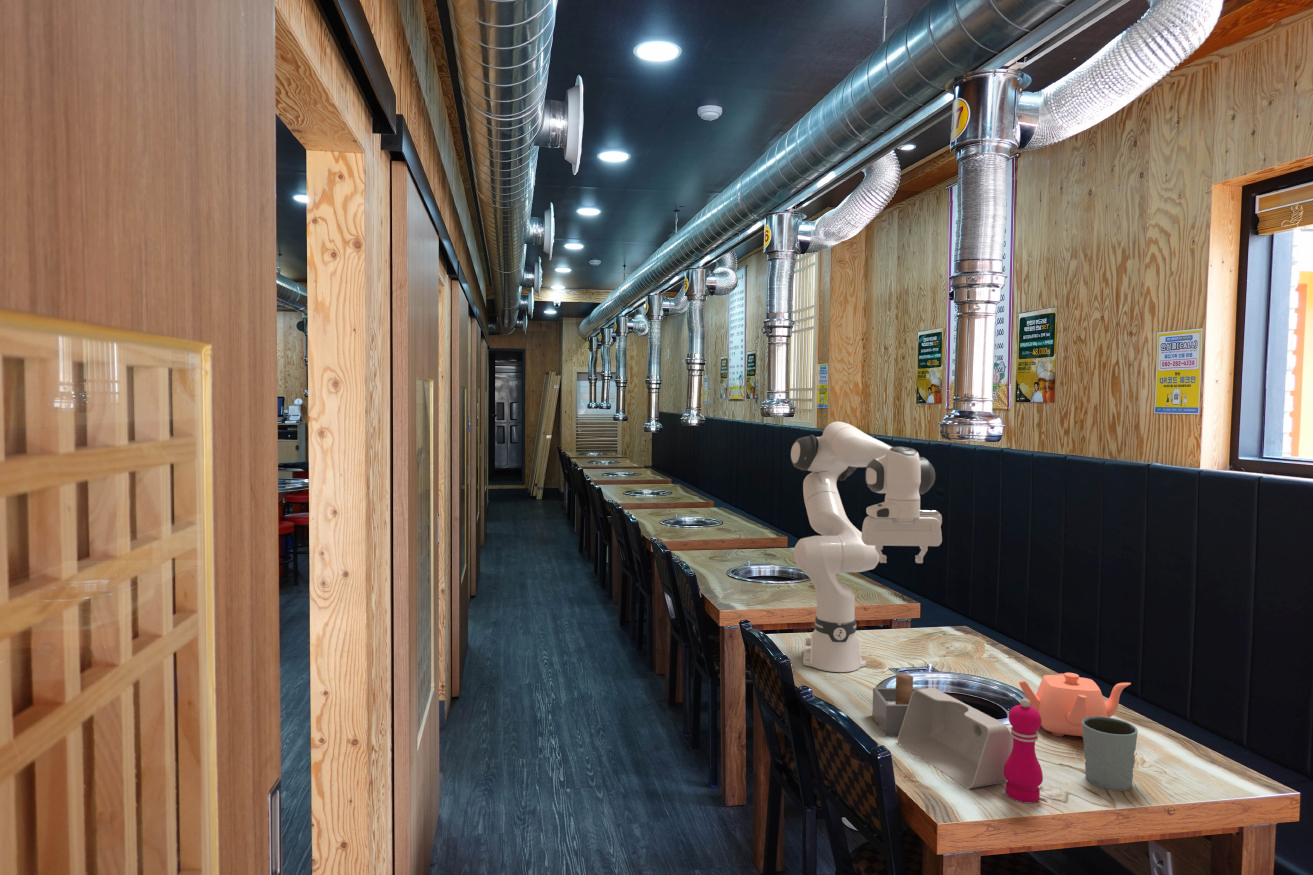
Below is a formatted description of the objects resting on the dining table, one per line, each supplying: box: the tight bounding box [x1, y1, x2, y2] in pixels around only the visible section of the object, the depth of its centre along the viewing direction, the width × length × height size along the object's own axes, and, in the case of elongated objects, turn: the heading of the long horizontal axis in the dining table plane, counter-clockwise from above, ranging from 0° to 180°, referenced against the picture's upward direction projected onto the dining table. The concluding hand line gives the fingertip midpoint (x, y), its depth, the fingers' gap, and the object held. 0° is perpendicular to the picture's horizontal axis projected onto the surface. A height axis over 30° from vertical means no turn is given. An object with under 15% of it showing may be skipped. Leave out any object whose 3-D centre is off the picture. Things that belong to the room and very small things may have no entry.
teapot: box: [1018, 672, 1132, 739], centre depth 198 cm, size 18×18×14 cm
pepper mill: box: [1003, 697, 1044, 803], centre depth 165 cm, size 7×7×20 cm
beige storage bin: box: [897, 687, 1013, 790], centre depth 182 cm, size 25×16×12 cm, turn 20°
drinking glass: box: [1082, 716, 1138, 792], centre depth 172 cm, size 10×10×12 cm
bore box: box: [871, 687, 922, 736], centre depth 201 cm, size 12×12×7 cm
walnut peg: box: [895, 673, 914, 705], centre depth 201 cm, size 4×4×12 cm
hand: (900, 562), depth 214 cm, fingers open, 8 cm apart
